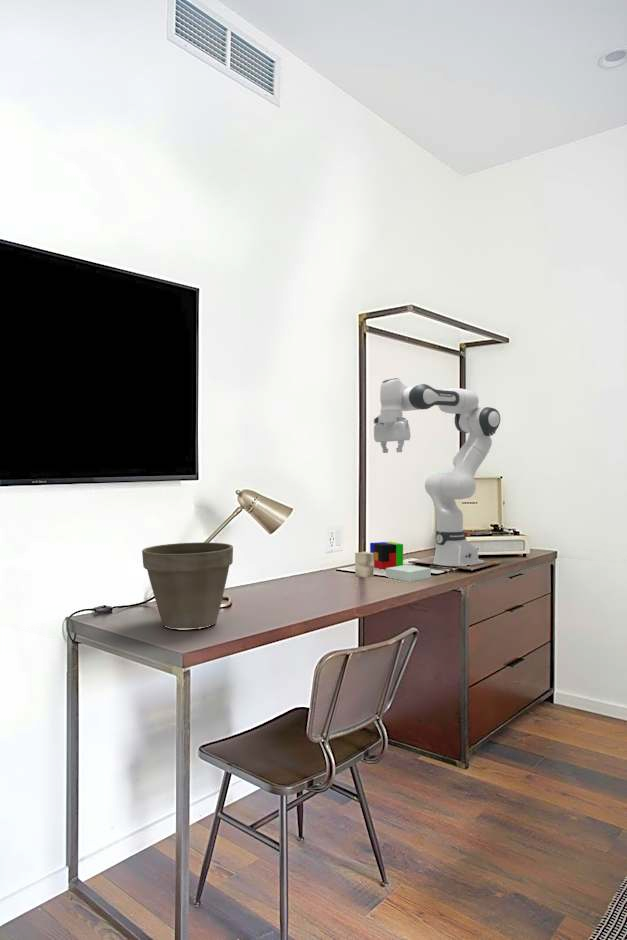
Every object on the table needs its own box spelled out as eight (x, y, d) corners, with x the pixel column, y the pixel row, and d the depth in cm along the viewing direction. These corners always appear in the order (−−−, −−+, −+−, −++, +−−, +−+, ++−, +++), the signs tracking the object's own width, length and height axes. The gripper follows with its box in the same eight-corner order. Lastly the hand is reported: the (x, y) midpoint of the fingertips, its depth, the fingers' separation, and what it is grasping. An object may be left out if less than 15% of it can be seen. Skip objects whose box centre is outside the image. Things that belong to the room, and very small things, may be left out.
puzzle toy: (370, 566, 289) (370, 542, 289) (390, 564, 293) (390, 541, 293) (382, 570, 280) (382, 545, 280) (403, 568, 284) (403, 544, 284)
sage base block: (406, 574, 271) (406, 564, 271) (430, 578, 262) (430, 568, 262) (386, 578, 263) (386, 568, 263) (410, 582, 254) (410, 572, 254)
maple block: (364, 574, 270) (364, 551, 269) (373, 576, 266) (373, 553, 266) (355, 575, 266) (355, 552, 266) (364, 577, 263) (364, 554, 262)
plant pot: (123, 627, 187) (122, 548, 187) (188, 610, 208) (187, 539, 207) (189, 641, 173) (188, 555, 173) (251, 621, 194) (251, 545, 193)
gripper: (413, 416, 270) (414, 451, 270) (383, 420, 287) (384, 453, 288) (401, 416, 267) (401, 452, 267) (370, 420, 284) (371, 453, 284)
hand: (392, 452), depth 277 cm, fingers open, 8 cm apart
